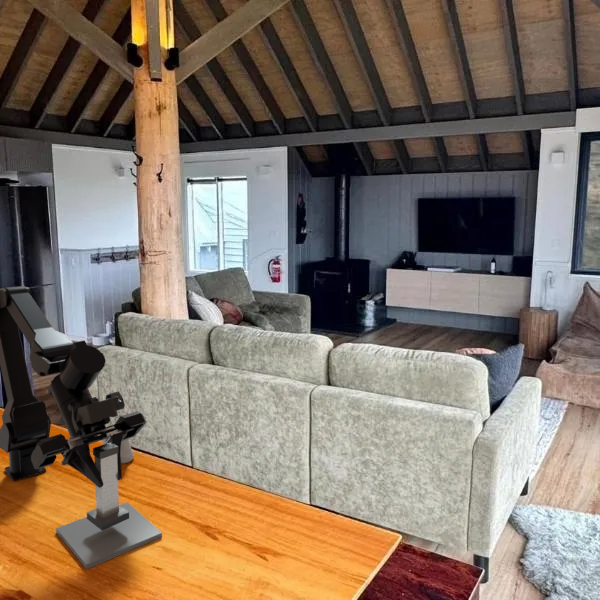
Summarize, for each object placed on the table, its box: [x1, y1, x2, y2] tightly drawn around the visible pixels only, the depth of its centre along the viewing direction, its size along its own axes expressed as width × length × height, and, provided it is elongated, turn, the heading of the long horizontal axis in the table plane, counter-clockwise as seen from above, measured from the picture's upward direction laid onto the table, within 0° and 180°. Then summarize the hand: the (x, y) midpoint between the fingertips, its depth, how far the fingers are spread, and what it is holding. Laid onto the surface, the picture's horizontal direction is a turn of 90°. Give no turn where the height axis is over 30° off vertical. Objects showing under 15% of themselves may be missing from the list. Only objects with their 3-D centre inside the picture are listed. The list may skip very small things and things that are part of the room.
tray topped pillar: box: [86, 442, 129, 531], centre depth 93 cm, size 5×5×13 cm
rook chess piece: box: [120, 438, 135, 465], centre depth 122 cm, size 4×4×8 cm
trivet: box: [55, 501, 163, 570], centre depth 95 cm, size 13×13×1 cm
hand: (110, 482), depth 92 cm, fingers closed on tray topped pillar, 3 cm apart
